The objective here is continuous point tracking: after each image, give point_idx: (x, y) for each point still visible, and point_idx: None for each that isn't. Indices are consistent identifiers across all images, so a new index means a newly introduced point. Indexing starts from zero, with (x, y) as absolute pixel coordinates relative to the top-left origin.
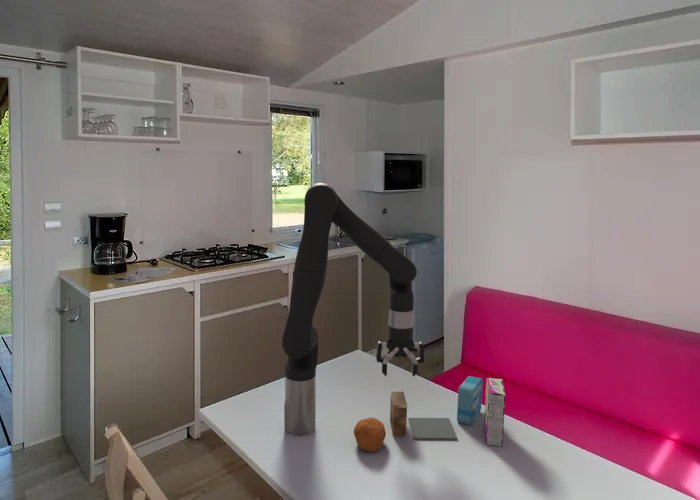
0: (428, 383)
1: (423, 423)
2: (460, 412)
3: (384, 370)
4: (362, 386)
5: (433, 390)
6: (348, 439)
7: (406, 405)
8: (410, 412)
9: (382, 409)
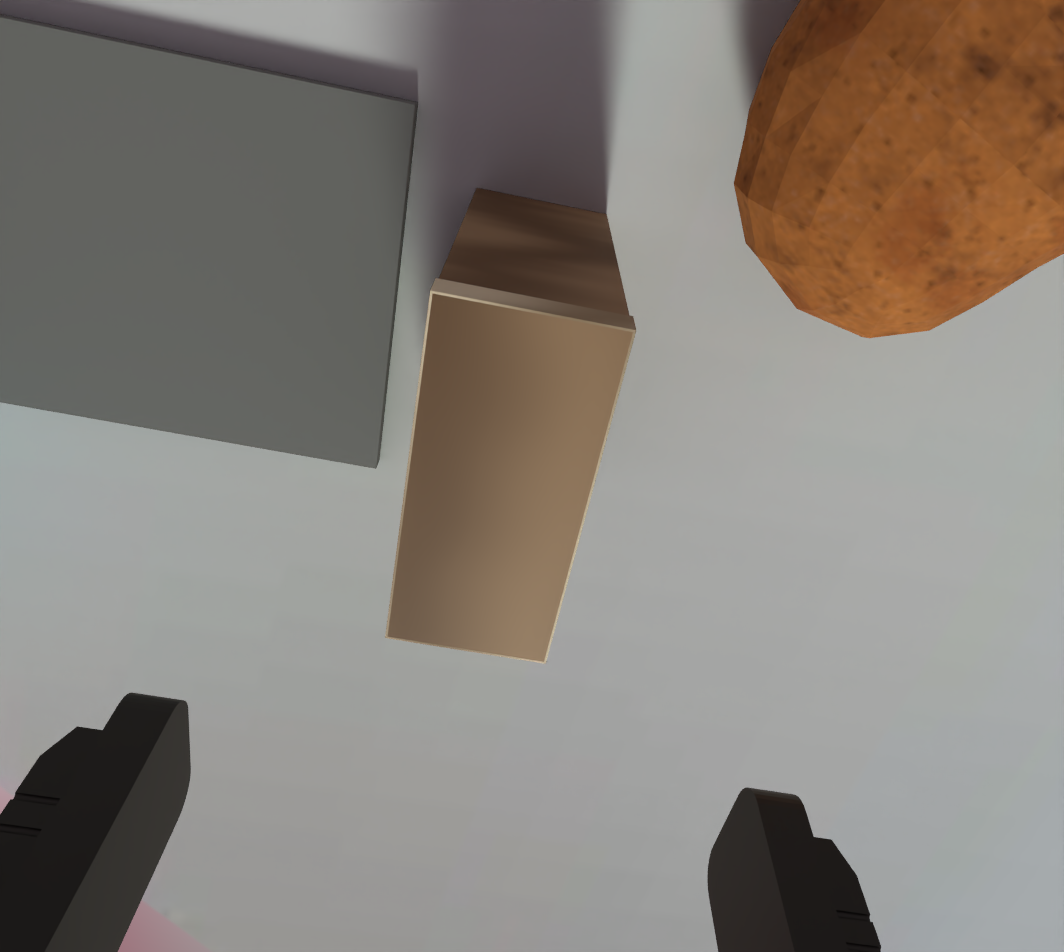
0: None
1: (256, 353)
2: None
3: (819, 912)
4: (597, 898)
5: None
6: None
7: (442, 290)
8: (335, 557)
9: None
